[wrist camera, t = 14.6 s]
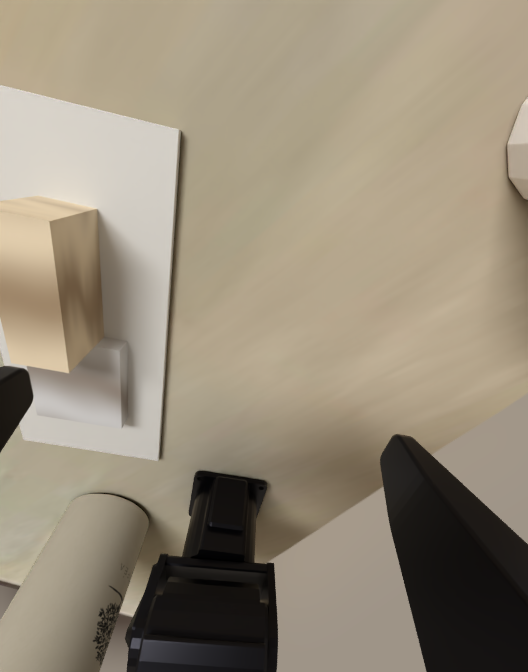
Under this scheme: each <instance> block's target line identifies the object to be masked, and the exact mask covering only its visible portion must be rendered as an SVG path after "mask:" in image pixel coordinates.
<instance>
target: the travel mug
mask: <svg viewBox="0 0 528 672" xmlns="http://www.w3.org/2000/svg"><path fill="white" fill-rule="evenodd" d="M148 527H149V520H148V517H147V515H146V514H145V513H144V511H143V510H142V509H141V508H139V507H138V506H137V505H135V504H134V503H132V502H131V501H129V500H126V499H124V498H121V497H119V496H115V495H111V494H87V495H83V496H80V497H77V498H75V499H74V500H73V501H71V503H70V504H69V506H68V507H67V509H66V511H65V512H64V514H63V516H62V517H61V519H60V521H59V522H58V524H57V526H56V527H55V529H54V531H53V533H52V534H51V536H50V538H49V539H48V541H47V543H46V544H45V546H44V548H43V549H42V551H41V553H40V554H39V556H38V558H37V560H36V561H35V563H34V565H33V566H32V568H31V570H30V571H29V573H28V575H27V576H26V578H25V580H24V581H23V583H22V585H21V586H20V588H19V590H18V592H17V593H16V595H15V597H14V598H13V600H12V602H11V603H10V605H9V607H8V608H7V610H6V612H5V614H4V615H3V617H2V618H1V620H0V672H99V671H100V668H101V665H102V662H103V659H104V656H105V653H106V650H107V647H108V644H109V641H110V639H111V636H112V633H113V630H114V627H115V624H116V621H117V618H118V615H119V612H120V609H121V606H122V603H123V600H124V597H125V594H126V591H127V588H128V586H129V583H130V580H131V577H132V574H133V571H134V568H135V565H136V562H137V559H138V556H139V553H140V550H141V547H142V544H143V541H144V538H145V535H146V532H147V530H148Z"/></svg>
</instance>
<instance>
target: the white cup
mask: <svg viewBox="0 0 528 672" xmlns="http://www.w3.org/2000/svg"><path fill="white" fill-rule="evenodd" d="M507 155H508V176H509V178H510V180H511V181H512V183H513V184H514V185H515V187H516V188H517V190H518V191H519V192H520V194H521V195H522V197H523V198H524V199H526V200H528V97H527V99H526V100H525V101H524V103H523V104H522V105H521V107H520V110H519V113H518V116H517V118H516V121H515V124H514V127H513V129H512V132H511V135H510V138H509V141H508V143H507Z"/></svg>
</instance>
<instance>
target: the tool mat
mask: <svg viewBox="0 0 528 672" xmlns="http://www.w3.org/2000/svg"><path fill="white" fill-rule="evenodd" d="M180 138H181V130H179V129H175V128H171V127H167V126H163V125H159V124H155V123H151V122H147V121H143V120H139V119H135V118H131V117H127V116H123V115H119V114H115V113H111V112H107V111H103V110H99V109H95V108H91V107H87V106H83V105H79V104H75V103H71V102H67V101H63V100H59V99H55V98H51V97H47V96H43V95H39V94H35V93H31V92H27V91H23V90H19V89H15V88H11V87H7V86H3V85H0V201H3V200H11V199H18V198H25V197H32V196H42V197H47V198H51V199H56V200H60V201H65V202H69V203H74V204H78V205H83V206H87V207H92V208H96V209H97V214H98V232H99V251H100V269H101V287H102V305H103V323H104V337H108V338H114V339H119V340H124V341H127V348H128V419H127V420H126V422H125V424H124V426H123V427H122V429H119V428H112V427H106V426H100V425H94V424H88V423H82V422H76V421H70V420H64V419H57V418H51V417H45V416H39V415H37V412H36V408H35V403H34V398H33V402H32V404H31V406H30V408H29V409H28V411H27V412H26V414H25V415H24V417H23V418H22V420H21V422H20V423H19V424H20V428H21V432H22V436H23V440H28V441H35V442H41V443H47V444H54V445H60V446H67V447H73V448H79V449H86V450H92V451H98V452H105V453H111V454H118V455H124V456H130V457H137V458H143V459H149V460H156V461H158V460H159V457H160V444H161V428H162V413H163V398H164V383H165V367H166V352H167V337H168V321H169V306H170V291H171V276H172V260H173V245H174V230H175V215H176V199H177V184H178V169H179V153H180ZM0 350H1V354H2V358H3V362H4V366H14V367H20V368H24V369H26V370H27V366H25V365H19V364H13V363H11V360H10V356H9V352H8V348H7V344H6V340H5V336H4V331H3V327H2V323H1V319H0ZM27 371H28V370H27Z"/></svg>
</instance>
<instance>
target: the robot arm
mask: <svg viewBox="0 0 528 672" xmlns="http://www.w3.org/2000/svg"><path fill="white" fill-rule="evenodd" d="M33 397H34V395H33V390H32V385H31V380H30V375H29V372H28V371H27V370H26V369H24V368H20V367H14V366H3V367H0V452H1V451H2V449H3V448H4V446H5V444H6V443H7V441H8V440H9V438H10V437H11V435H12V434H13V432H14V431H15V429H16V428H17V426H18V425H19V423H20V422H21V420H22V418H23V417H24V415H25V414H26V412H27V411H28V409H29V408H30V406H31V404H32V402H33ZM380 465H381V472H382V479H383V485H384V491H385V498H386V505H387V512H388V517H389V523H390V528H391V532H392V536H393V540H394V544H395V548H396V552H397V556H398V560H399V564H400V568H401V572H402V576H403V580H404V584H405V588H406V592H407V596H408V600H409V604H410V608H411V611H412V615H413V619H414V623H415V627H416V631H417V635H418V639H419V643H420V647H421V651H422V655H423V659H424V663H425V667H426V671H427V672H528V544H527V543H526V542H525V541H524V540H522V539H521V538H520V537H519V536H518V535H517V534H516V533H515V532H514V531H513V530H511V528H510V527H508V526H507V525H506V524H505V523H504V522H503V521H502V520H501V519H500V518H499V517H498V516H497V515H495V514H494V513H493V512H492V511H491V510H490V509H489V508H488V507H487V506H486V505H485V504H484V503H482V502H481V501H480V500H479V499H478V498H477V497H476V496H475V495H474V494H473V493H472V492H471V491H469V490H468V489H467V488H466V487H465V486H464V485H463V484H462V483H461V482H460V481H459V480H458V479H457V478H456V477H454V476H453V475H452V474H451V473H450V472H449V471H448V470H447V469H446V468H445V467H444V466H443V465H441V464H440V463H439V462H438V461H437V460H436V459H435V458H434V457H433V456H432V455H431V454H430V453H429V452H428V451H426V450H425V449H424V448H423V447H422V446H421V445H420V444H419V443H418V442H417V441H416V440H415V439H413V438H412V437H410V436H406V435H400V434H395V435H394V436H392V438H391V439H390V441H389V443H388V444H387V446H386V448H385V449H384V451H383V453H382V455H381V458H380ZM266 489H267V483H266V482H265V481H261V480H255V479H248V478H242V477H235V476H229V475H223V474H216V473H210V472H203V471H198V472H196V473H195V477H194V482H193V489H192V495H191V501H190V508H189V515H190V516H191V519H190V524H189V528H188V533H187V537H186V541H185V546H184V550H183V555H182V557H179V556H168V554H161V555H160V557H159V560H158V563H157V564H155V565H153V567H152V571H151V574H150V577H149V581H148V584H147V587H146V590H145V593H144V595H143V597H142V599H141V601H140V603H139V606H138V608H137V610H136V612H135V614H134V616H133V618H132V620H131V623H130V625H129V627H128V629H127V632H126V637H125V640H126V643H127V645H128V647H129V652H128V663H127V672H276V670H277V652H278V624H277V606H276V589H275V573H274V563H267V564H261V563H254V555H255V533H256V518H257V515H258V512H259V509H260V506H261V504H262V501H263V498H264V495H265V492H266Z"/></svg>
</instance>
